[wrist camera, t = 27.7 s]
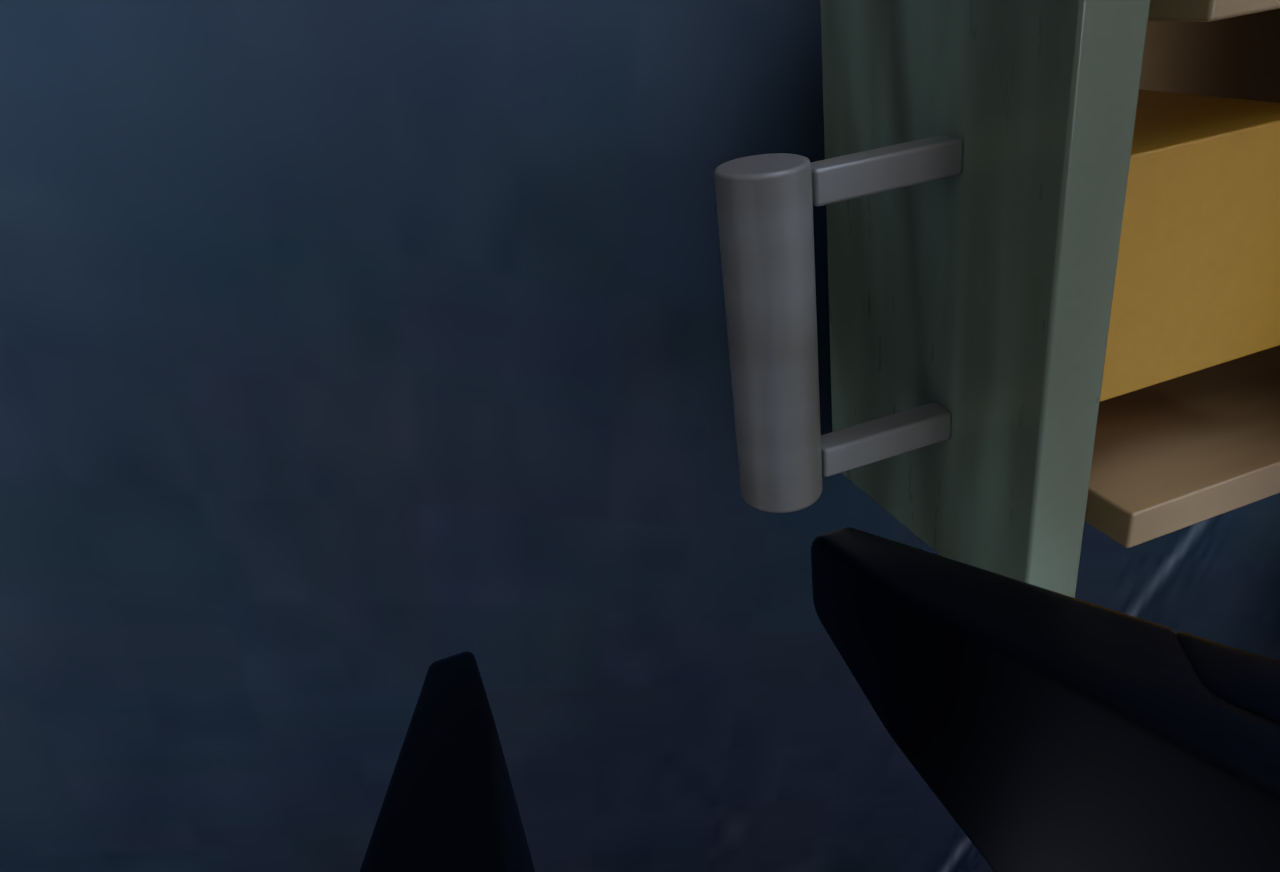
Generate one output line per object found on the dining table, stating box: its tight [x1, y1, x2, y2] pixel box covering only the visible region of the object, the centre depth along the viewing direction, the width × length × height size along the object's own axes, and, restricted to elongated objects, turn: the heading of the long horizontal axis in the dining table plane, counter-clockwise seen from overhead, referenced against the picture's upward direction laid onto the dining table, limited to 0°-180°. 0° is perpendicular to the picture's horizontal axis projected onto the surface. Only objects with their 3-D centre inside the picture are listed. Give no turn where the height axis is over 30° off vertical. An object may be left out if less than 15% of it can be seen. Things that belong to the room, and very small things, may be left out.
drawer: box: [714, 0, 1280, 598], centre depth 18 cm, size 18×11×7 cm, turn 98°
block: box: [1100, 89, 1280, 402], centre depth 18 cm, size 4×4×4 cm
